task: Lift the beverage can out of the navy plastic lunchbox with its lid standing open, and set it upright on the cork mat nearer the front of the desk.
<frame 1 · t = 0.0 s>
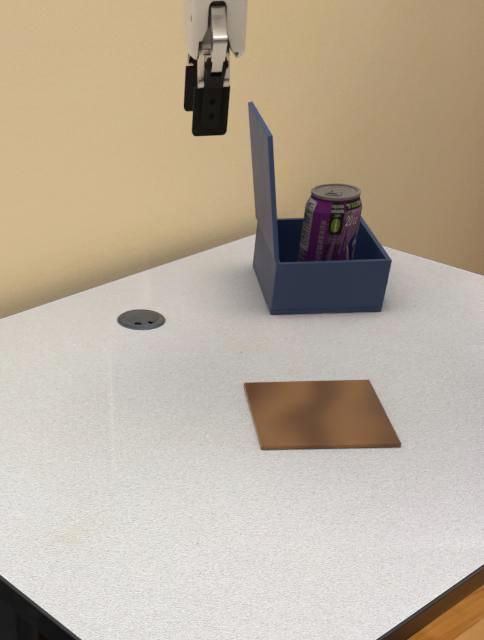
hand: (203, 122, 87), 27 cm above the table, tool pointing down, fingers open, 9 cm apart
lunchbox lid: (263, 180, 114), point 14 cm above the table, hinge at 100.0°
beverage can: (321, 284, 122), resting on lunchbox
lunchbox: (313, 287, 122), on the table
cork mat: (317, 414, 96), on the table
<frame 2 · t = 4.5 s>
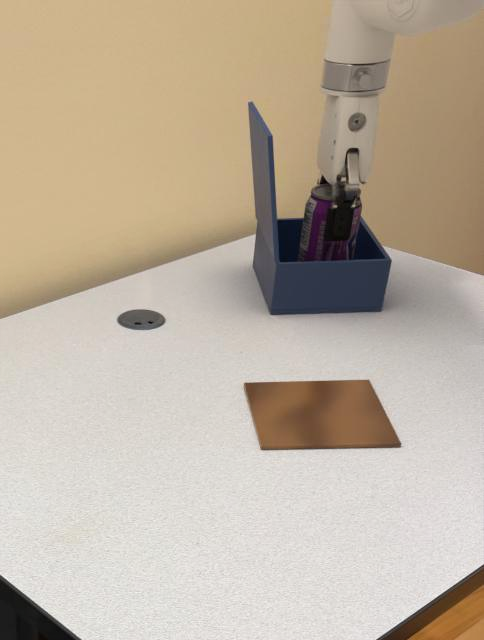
hand: (330, 228, 117), 8 cm above the table, tool pointing down, fingers closed on beverage can, 7 cm apart
beverage can: (321, 284, 122), resting on lunchbox, touching gripper
everything else where it was.
when the fingers open (8 cm above the table, at t = 13.9 s): beverage can stays where it is, resting on cork mat.
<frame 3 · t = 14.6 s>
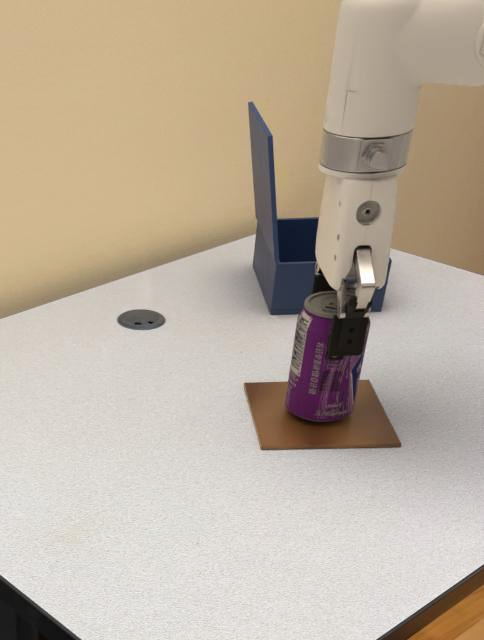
hand: (334, 333, 90), 9 cm above the table, tool pointing down, fingers open, 9 cm apart
beverage can: (317, 412, 96), resting on cork mat
everything else where it was.
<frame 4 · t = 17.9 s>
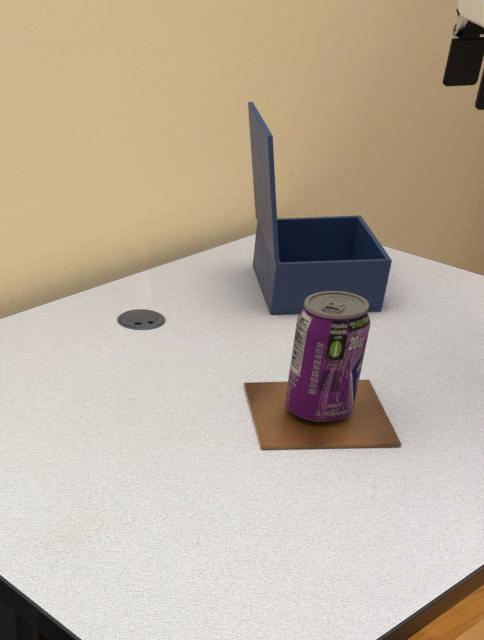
hand: (475, 96, 84), 28 cm above the table, tool pointing down, fingers open, 9 cm apart
nothing on the table moved.
at the end: beverage can inside the target area on the cork mat (0.0 cm from its centre), point 0.2 cm above the cork mat's base; beverage can tilted 0°; the gripper is holding nothing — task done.
